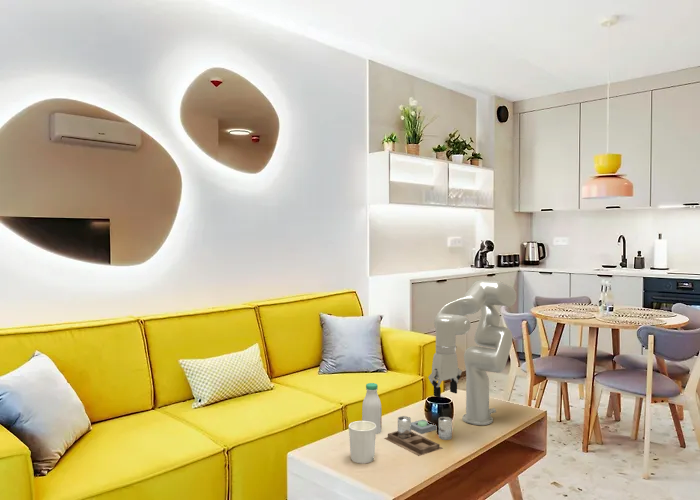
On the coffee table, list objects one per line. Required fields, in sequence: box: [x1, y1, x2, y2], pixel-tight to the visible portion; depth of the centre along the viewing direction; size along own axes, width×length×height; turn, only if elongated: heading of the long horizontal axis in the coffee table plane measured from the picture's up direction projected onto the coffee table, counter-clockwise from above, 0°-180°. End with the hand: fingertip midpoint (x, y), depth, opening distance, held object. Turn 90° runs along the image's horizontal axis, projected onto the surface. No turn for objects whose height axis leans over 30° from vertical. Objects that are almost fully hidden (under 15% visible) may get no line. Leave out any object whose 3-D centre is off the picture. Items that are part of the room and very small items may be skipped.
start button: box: [417, 420, 427, 427], centre depth 219 cm, size 4×4×4 cm
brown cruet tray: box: [383, 430, 444, 457], centre depth 204 cm, size 12×20×3 cm, turn 35°
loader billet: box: [397, 415, 412, 440], centre depth 208 cm, size 5×5×9 cm
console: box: [411, 419, 438, 435], centre depth 219 cm, size 8×8×3 cm
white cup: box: [348, 420, 377, 464], centre depth 193 cm, size 10×10×12 cm
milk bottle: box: [361, 382, 383, 435], centre depth 216 cm, size 8×8×20 cm
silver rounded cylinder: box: [438, 416, 453, 441], centre depth 209 cm, size 5×5×9 cm
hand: (445, 394), depth 209 cm, fingers open, 8 cm apart
